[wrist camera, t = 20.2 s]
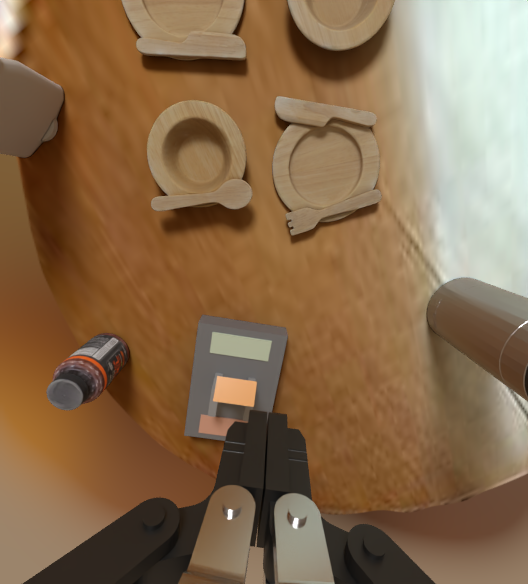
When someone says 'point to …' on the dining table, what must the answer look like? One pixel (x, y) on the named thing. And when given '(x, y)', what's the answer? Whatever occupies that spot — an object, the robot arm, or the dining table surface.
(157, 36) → the tableware set
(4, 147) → the tall pale column
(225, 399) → the breaker lever
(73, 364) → the supplement bottle
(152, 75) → the dining table surface
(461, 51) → the dining table surface
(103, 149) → the dining table surface
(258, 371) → the switch block
